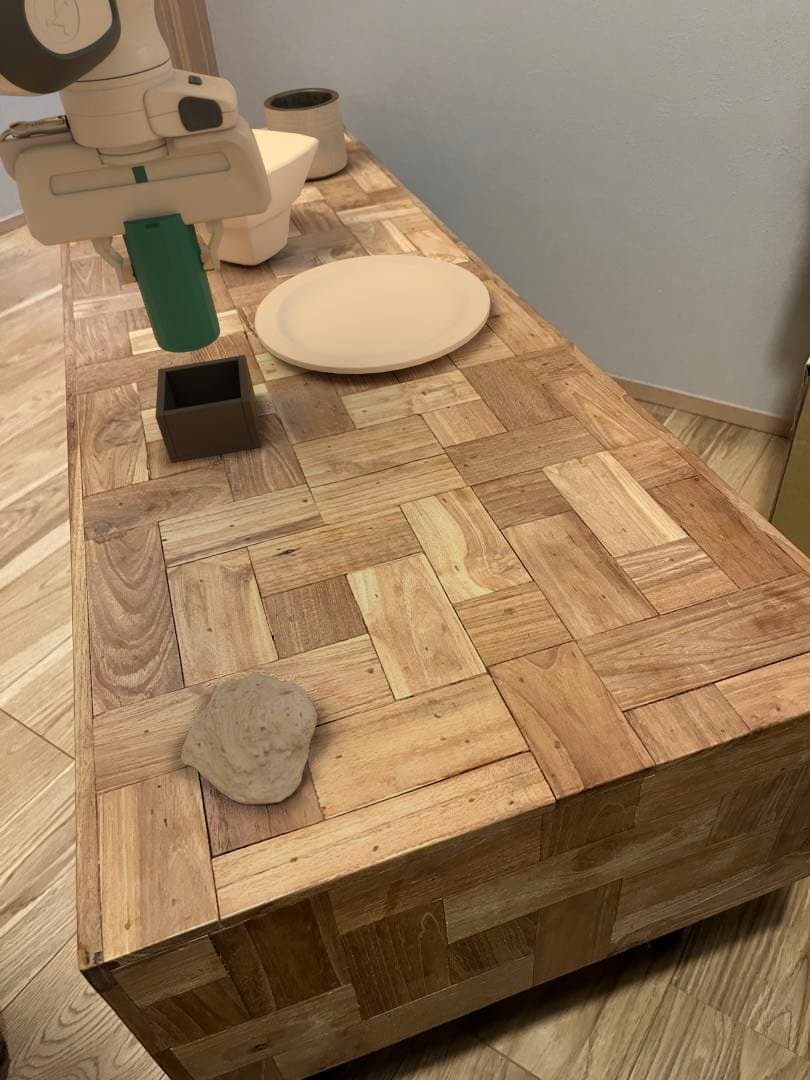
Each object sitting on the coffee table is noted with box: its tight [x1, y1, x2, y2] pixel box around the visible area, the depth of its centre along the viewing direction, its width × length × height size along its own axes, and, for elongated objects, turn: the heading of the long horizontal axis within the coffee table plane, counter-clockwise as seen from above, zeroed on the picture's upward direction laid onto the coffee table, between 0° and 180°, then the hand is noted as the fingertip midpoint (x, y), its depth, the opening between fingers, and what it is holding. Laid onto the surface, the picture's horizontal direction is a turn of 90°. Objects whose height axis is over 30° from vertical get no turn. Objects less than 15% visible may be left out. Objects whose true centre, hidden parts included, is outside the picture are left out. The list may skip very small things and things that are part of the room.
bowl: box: [194, 128, 319, 266], centre depth 112 cm, size 19×19×14 cm
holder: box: [154, 354, 262, 464], centre depth 83 cm, size 9×9×6 cm
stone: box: [180, 672, 318, 805], centre depth 56 cm, size 10×5×10 cm
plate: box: [254, 254, 491, 375], centre depth 99 cm, size 28×28×2 cm
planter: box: [263, 87, 348, 182], centre depth 137 cm, size 12×12×11 cm
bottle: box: [121, 166, 221, 354], centre depth 73 cm, size 6×6×16 cm
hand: (171, 274), depth 74 cm, fingers closed on bottle, 6 cm apart
